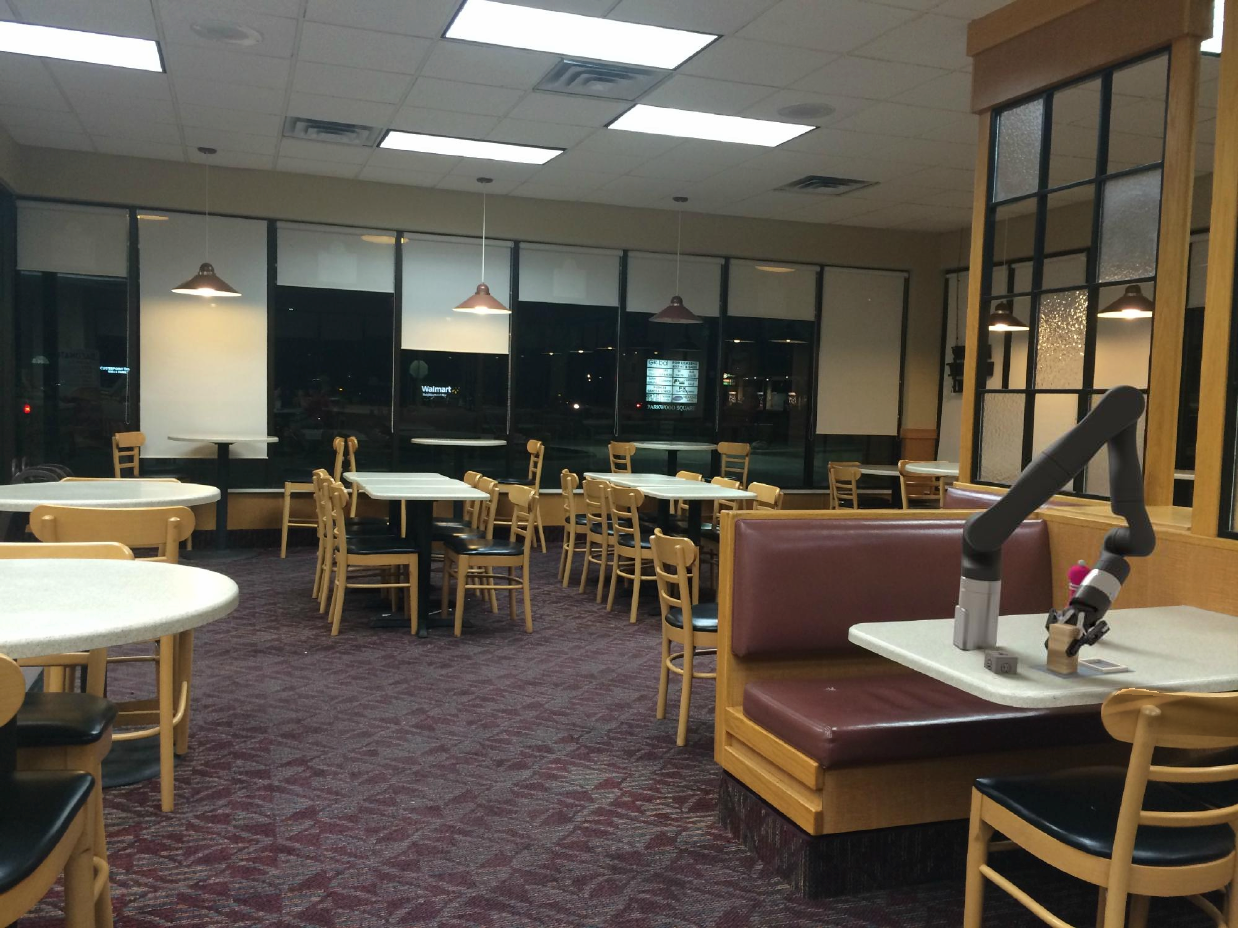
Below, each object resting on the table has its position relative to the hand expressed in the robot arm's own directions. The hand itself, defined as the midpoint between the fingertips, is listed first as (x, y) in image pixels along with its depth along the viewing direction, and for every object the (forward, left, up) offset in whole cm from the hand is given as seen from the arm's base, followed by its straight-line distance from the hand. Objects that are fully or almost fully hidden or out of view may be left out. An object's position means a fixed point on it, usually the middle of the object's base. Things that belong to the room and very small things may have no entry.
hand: (1057, 651), depth 211 cm
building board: (+7, +3, -6) cm, 10 cm away
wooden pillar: (+2, +1, -4) cm, 5 cm away
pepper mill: (+25, +42, -6) cm, 50 cm away
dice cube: (-13, -1, -6) cm, 14 cm away
